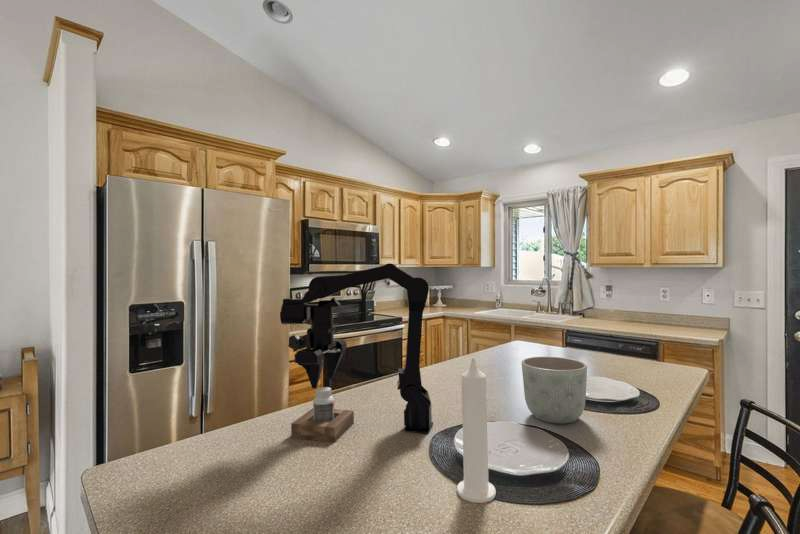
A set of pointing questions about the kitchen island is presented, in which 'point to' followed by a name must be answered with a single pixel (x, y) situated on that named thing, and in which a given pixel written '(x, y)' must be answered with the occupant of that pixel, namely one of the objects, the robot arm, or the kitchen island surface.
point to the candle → (475, 438)
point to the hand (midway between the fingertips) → (322, 383)
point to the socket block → (322, 426)
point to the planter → (555, 388)
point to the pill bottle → (323, 405)
